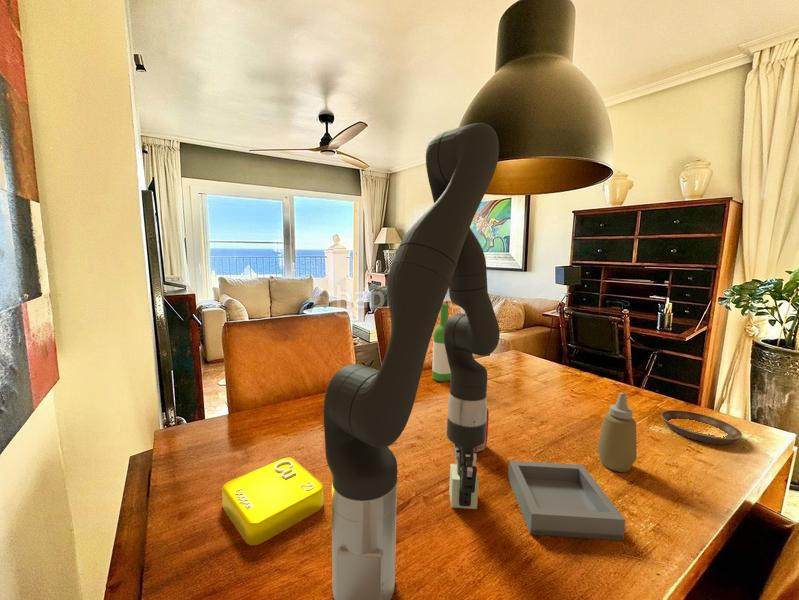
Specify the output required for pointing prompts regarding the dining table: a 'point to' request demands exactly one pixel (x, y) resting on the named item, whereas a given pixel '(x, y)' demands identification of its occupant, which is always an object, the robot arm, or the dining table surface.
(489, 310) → the robot arm
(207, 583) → the dining table surface
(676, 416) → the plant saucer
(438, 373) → the wine bottle
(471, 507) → the sage block
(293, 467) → the element tile
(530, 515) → the bin
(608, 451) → the squeeze bottle
